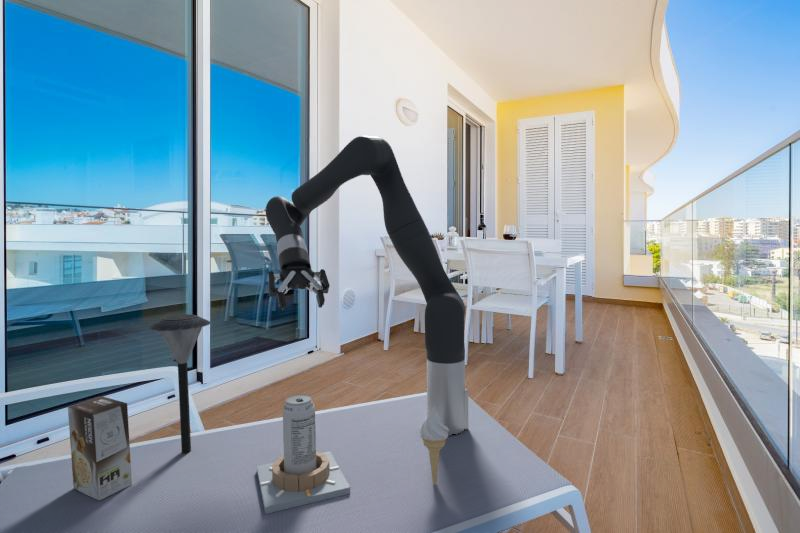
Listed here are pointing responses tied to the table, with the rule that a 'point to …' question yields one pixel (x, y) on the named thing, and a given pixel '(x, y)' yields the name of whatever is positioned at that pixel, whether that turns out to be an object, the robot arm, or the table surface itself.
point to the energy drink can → (299, 435)
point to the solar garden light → (182, 359)
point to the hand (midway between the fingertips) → (303, 306)
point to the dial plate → (300, 484)
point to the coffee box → (100, 446)
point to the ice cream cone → (434, 439)
